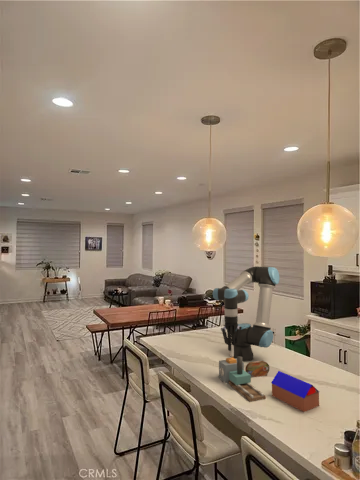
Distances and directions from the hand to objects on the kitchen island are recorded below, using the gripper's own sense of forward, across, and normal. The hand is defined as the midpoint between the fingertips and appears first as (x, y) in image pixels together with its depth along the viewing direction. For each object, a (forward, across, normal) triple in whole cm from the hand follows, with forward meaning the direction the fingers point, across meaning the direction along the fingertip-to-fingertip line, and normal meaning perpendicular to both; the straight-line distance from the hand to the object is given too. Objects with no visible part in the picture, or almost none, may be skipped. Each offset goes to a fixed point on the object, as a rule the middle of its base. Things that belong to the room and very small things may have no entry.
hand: (231, 355), depth 184 cm
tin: (+14, -16, +1) cm, 22 cm away
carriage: (+11, 0, +10) cm, 14 cm away
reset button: (+5, 0, 0) cm, 5 cm away
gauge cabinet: (+13, 0, 0) cm, 13 cm away
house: (+14, -17, +34) cm, 40 cm away
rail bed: (+13, 0, +16) cm, 21 cm away
